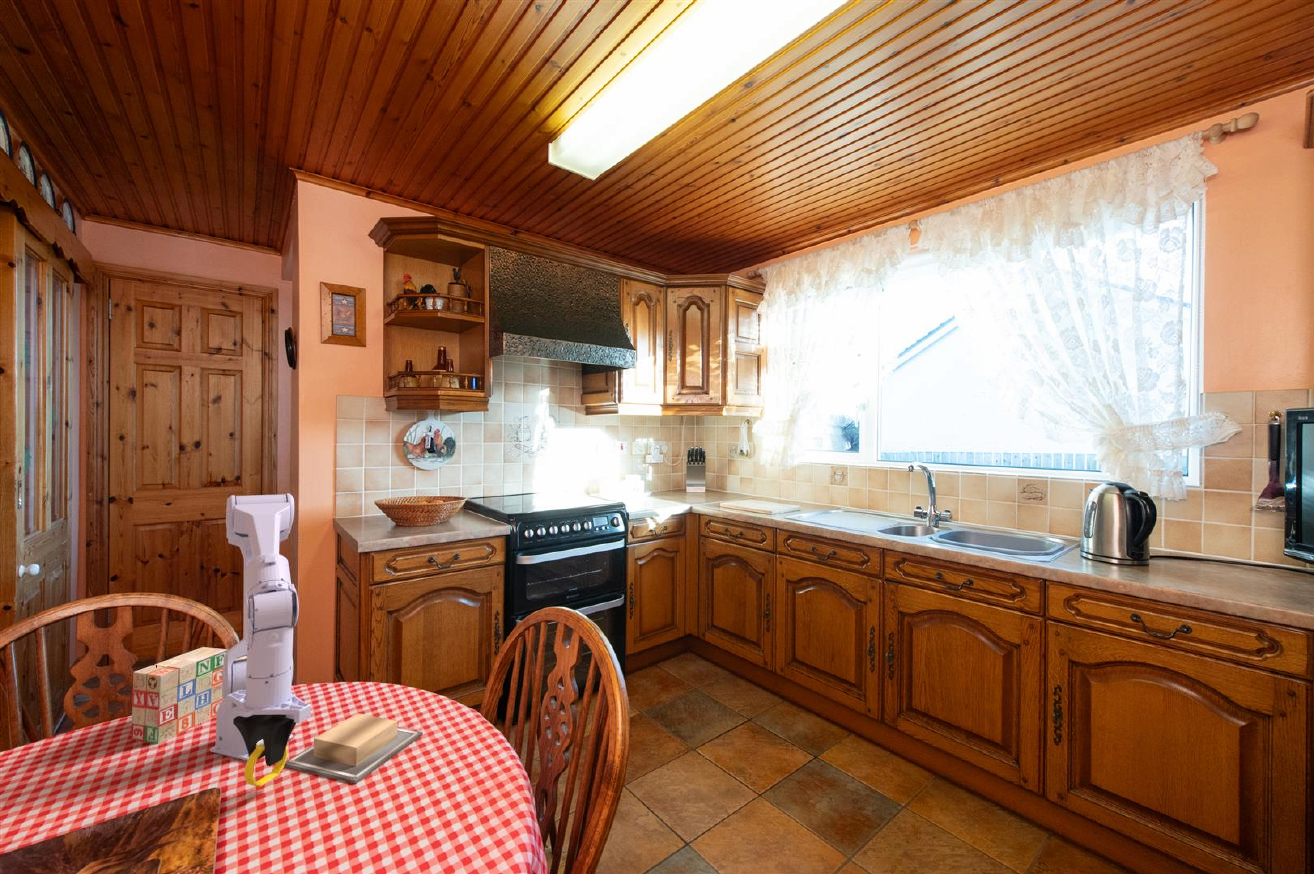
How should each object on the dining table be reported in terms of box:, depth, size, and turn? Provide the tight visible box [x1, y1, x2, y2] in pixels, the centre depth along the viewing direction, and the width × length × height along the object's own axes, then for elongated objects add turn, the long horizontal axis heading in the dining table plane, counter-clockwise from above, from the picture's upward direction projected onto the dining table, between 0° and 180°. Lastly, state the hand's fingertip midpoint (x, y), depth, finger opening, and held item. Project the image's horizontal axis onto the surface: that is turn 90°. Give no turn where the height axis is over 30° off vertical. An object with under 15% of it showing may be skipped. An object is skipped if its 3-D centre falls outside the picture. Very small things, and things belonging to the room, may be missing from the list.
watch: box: [244, 739, 288, 788], centre depth 82 cm, size 6×3×6 cm, turn 167°
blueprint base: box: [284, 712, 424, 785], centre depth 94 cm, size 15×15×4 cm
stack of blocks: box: [130, 646, 247, 745], centre depth 105 cm, size 21×6×12 cm, turn 168°
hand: (266, 760), depth 82 cm, fingers closed on watch, 3 cm apart
